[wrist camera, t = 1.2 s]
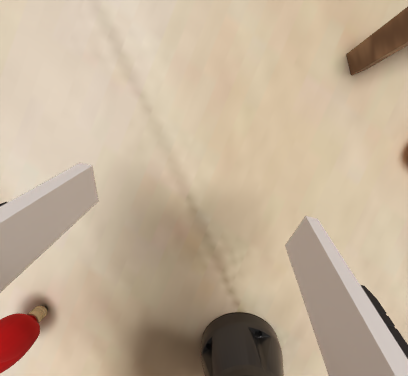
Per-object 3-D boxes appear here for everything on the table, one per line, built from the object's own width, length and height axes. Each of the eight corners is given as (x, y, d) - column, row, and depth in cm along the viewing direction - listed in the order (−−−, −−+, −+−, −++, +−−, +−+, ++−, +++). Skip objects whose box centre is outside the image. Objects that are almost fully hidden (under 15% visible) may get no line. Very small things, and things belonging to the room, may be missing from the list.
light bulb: (53, 331, 36) (-6, 396, 27) (22, 317, 36) (-49, 376, 26) (67, 298, 35) (10, 354, 25) (35, 282, 34) (-36, 333, 25)
